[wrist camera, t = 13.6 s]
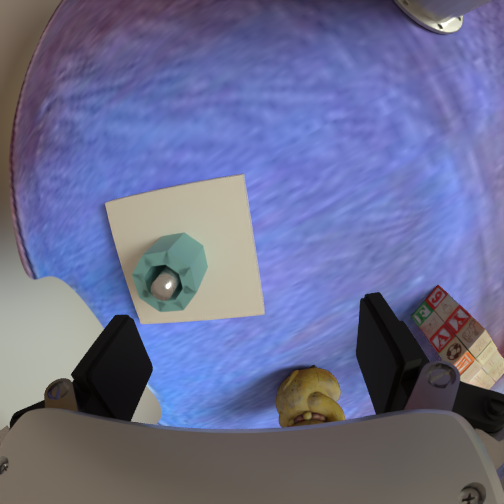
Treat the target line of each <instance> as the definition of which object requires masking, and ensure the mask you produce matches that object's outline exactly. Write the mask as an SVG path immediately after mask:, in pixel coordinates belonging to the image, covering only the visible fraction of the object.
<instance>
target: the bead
mask: <svg viewBox="0 0 504 504" xmlns="http://www.w3.org/2000/svg"><path fill="white" fill-rule="evenodd" d="M166 265H167V266H168V267H170V268H171V269H173V270H174V271H176V272H177V273H178V274H179V275H180V279H181V281H180V282H179V284H178V286H177V287H176V289H175V291H174V293H173V294H172V296H171V298H170V299H168V300H166V301H161V300H158V299H156V298H155V297H154V296H153V294H152V292H151V285H152V284H153V282H154V281H155V280H156V278H157V277H158V276H159V274H160V273H161V272H162V271H163V269H164V268H165V267H166ZM207 268H208V265H207V260H206V255H205V251H204V246H203V245H202V244H200V243H199V242H197V241H196V240H195V239H193V238H192V237H190V236H189V235H188V234H186V233H185V232H184V233H177V234H171V235H165V236H163V237H161V238H160V239H159V240H158V241H157V242H156V243H155V244H154V245H153V246H152V247H150V248H149V249H148V250H147V251H146V252H145V253H144V254H143V255H142V257H141V259H140V260H139V262H138V264H137V266H136V268H135V269H134V271H133V273H132V277H133V280H134V283H135V286H136V289H137V293H138V296H139V298H140V299H142V300H143V301H145V302H146V303H147V304H149V305H150V306H152V307H153V308H155V309H156V310H158V311H159V312H169V311H182V310H184V309H185V308H186V306H187V305H188V304H189V302H190V301H191V300H192V298H193V297H194V295H195V294H196V293H197V291H198V289H199V286H200V284H201V282H202V280H203V277H204V275H205V273H206V271H207Z"/></svg>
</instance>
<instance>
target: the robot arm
mask: <svg viewBox="0 0 504 504" xmlns="http://www.w3.org/2000/svg"><path fill="white" fill-rule="evenodd" d="M394 1H395V3H396V4H397V5H398V6H399V7H400V8H401V9H402V11H403V12H404V13H406V14H407V15H408V16H409V17H410V18H411V19H413V20H414V21H415V22H417V23H418V24H420V25H421V26H423V27H425V28H426V29H429V30H431V31H433V32H436V33H439V34H452V33H454V32H457V31H458V30H459V29H460V28H461V26H462V23H463V15H464V14H466V13H468V12H470V11H472V10H474V9H476V8H478V7H480V6H482V5H484V4H486V3H488V2H490V1H492V0H394ZM356 356H357V360H358V363H359V366H360V369H361V371H362V374H363V377H364V380H365V383H366V386H367V389H368V392H369V395H370V398H371V401H372V404H373V407H374V410H375V413H376V415H371V416H365V417H360V418H354V419H348V420H342V421H335V422H328V423H320V424H312V425H303V426H293V427H281V428H264V429H201V428H184V427H172V426H162V425H153V424H145V423H138V422H131V419H132V417H133V414H134V412H135V410H136V407H137V405H138V403H139V401H140V398H141V396H142V394H143V391H144V389H145V387H146V385H147V382H148V380H149V378H150V376H151V373H152V370H153V367H152V363H151V361H150V359H149V356H148V354H147V352H146V350H145V347H144V345H143V342H142V340H141V338H140V335H139V333H138V330H137V328H136V325H135V322H134V320H133V319H132V318H130V317H129V315H115V316H114V317H113V319H112V320H111V321H110V322H109V324H108V325H107V326H106V328H105V329H104V330H103V331H102V333H101V334H100V335H99V337H98V338H97V339H96V341H95V342H94V343H93V345H92V346H91V347H90V349H89V350H88V352H87V353H86V354H85V356H84V357H83V358H82V360H81V361H80V363H79V364H78V365H77V366H76V368H75V369H74V371H73V372H72V374H71V376H72V377H73V379H74V380H73V382H71V381H70V380H69V379H66V378H61V379H58V380H55V381H53V382H52V383H51V384H49V386H48V387H47V388H46V390H45V394H44V398H45V400H43V401H41V402H38V403H36V404H34V405H32V406H29V407H27V408H24V409H22V410H20V411H17V412H16V413H14V415H13V416H12V419H11V421H10V428H9V427H8V426H6V427H5V428H3V429H2V430H0V504H504V394H501V393H498V392H495V391H491V390H488V389H485V388H481V387H478V386H474V385H471V384H468V383H465V382H462V381H460V373H459V370H458V369H457V368H456V367H455V366H454V365H453V364H451V363H449V362H447V361H441V360H437V361H432V362H429V360H428V358H427V357H426V355H425V354H424V352H423V350H422V349H421V347H420V346H419V344H418V343H417V341H416V339H415V338H414V336H413V335H412V333H411V332H410V330H409V329H408V327H407V326H406V324H405V323H404V322H403V321H399V320H398V319H397V317H396V316H395V314H394V313H393V311H392V310H391V308H390V307H389V305H388V304H387V302H386V301H385V299H384V298H383V296H382V295H381V293H380V292H377V293H370V294H366V295H365V297H364V298H361V300H360V312H359V326H358V337H357V347H356Z"/></svg>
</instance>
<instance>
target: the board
mask: <svg viewBox="0 0 504 504" xmlns="http://www.w3.org/2000/svg"><path fill="white" fill-rule="evenodd" d="M105 206H106V210H107V215H108V219H109V223H110V227H111V231H112V235H113V238H114V242H115V246H116V249H117V253H118V256H119V260H120V263H121V266H122V270H123V273H124V276H125V279H126V282H127V285H128V288H129V291H130V294H131V297H132V300H133V303H134V306H135V308H136V311H137V314H138V317H139V319H140V322H141V324H154V323H172V322H187V321H201V320H213V319H224V318H235V317H245V316H254V315H263V314H264V301H263V294H262V287H261V281H260V274H259V268H258V261H257V255H256V248H255V242H254V235H253V229H252V222H251V216H250V209H249V203H248V196H247V190H246V184H245V177H244V174H237V175H231V176H225V177H219V178H213V179H207V180H202V181H196V182H191V183H186V184H181V185H176V186H171V187H166V188H161V189H157V190H152V191H148V192H143V193H139V194H135V195H131V196H126V197H122V198H118V199H114V200H111V201H109V202H106V203H105ZM184 232H185V233H186V234H188V235H189V236H190V237H192V238H193V239H195V240H196V241H197V242H199V243H200V244H202V245H203V246H204V251H205V255H206V260H207V265H208V268H207V271H206V273H205V275H204V277H203V280H202V282H201V284H200V286H199V289H198V291H197V293H196V294H195V295H194V297H193V298H192V300H191V301H190V302H189V304H188V305H187V306H186V308H185V309H184V310H182V311H169V312H159V311H158V310H156V309H155V308H153V307H152V306H150V305H149V304H147V303H146V302H145V301H143V300H142V299H140V298H139V296H138V293H137V289H136V286H135V283H134V280H133V277H132V273H133V271H134V269H135V268H136V266H137V264H138V262H139V260H140V259H141V257H142V255H143V254H144V253H145V252H146V251H147V250H148V249H149V248H150V247H152V246H153V245H154V244H155V243H156V242H157V241H158V240H159V239H160V238H161V237H163V236H165V235H171V234H177V233H184ZM180 281H181V279H180V275H179V274H178V273H177V272H176V271H174V270H173V269H171V268H170V267H168V266H167V265H166V267H165V268H164V269H163V271H162V272H161V273H160V274H159V276H158V277H157V278H156V280H155V281H154V282H153V284H152V285H151V292H152V294H153V296H154V297H155V298H156V299H158V300H161V301H166V300H168V299H170V298H171V296H172V294H173V293H174V291H175V289H176V287H177V286H178V284H179V282H180Z"/></svg>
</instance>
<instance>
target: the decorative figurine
mask: <svg viewBox="0 0 504 504" xmlns="http://www.w3.org/2000/svg"><path fill="white" fill-rule="evenodd" d="M340 394H341V392H340V386H339V384H338V381H337V380H336V378H335V377H334V376H333V375H332V374H331V373H330V372H329V371H327V370H324V369H321V368H317V367H316V366H315V365H313V366H311V367H310V368H308V369H302V370H295V371H293V372H291V374H290V375H289V377H287V378H286V379H285V380H284V381H283V382H282V384H281V385H280V387H279V388H278V392H277V396H276V408H277V411H278V413H279V424H280V426H281V427H293V426H303V425H312V424H320V423H328V422H335V421H342V420H345V416H344V412H343V410H342V408H341V407H340V406H339V404H338V403H337V401H338V400H339V397H340Z"/></svg>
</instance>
